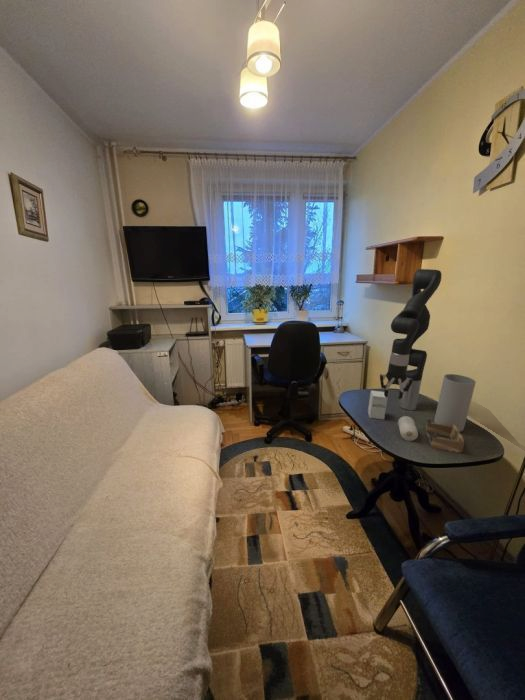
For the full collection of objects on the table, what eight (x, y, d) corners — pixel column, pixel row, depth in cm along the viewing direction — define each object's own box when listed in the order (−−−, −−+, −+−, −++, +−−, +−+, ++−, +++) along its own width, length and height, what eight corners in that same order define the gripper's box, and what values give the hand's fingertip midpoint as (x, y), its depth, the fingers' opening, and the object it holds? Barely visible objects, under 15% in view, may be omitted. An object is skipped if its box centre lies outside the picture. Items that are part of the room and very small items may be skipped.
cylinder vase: (450, 418, 148) (460, 373, 141) (470, 431, 136) (482, 383, 129) (428, 419, 146) (438, 374, 140) (446, 433, 135) (458, 384, 128)
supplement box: (369, 418, 147) (372, 395, 143) (367, 411, 154) (370, 389, 150) (384, 420, 145) (388, 397, 141) (382, 413, 152) (385, 391, 148)
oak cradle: (425, 430, 136) (427, 418, 134) (452, 435, 133) (455, 423, 131) (431, 447, 123) (434, 434, 121) (461, 453, 120) (465, 439, 118)
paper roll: (397, 428, 138) (399, 415, 136) (413, 430, 136) (415, 417, 134) (399, 439, 129) (401, 425, 127) (416, 442, 127) (419, 428, 125)
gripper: (415, 362, 127) (408, 397, 131) (380, 358, 131) (375, 392, 136) (418, 367, 120) (411, 404, 125) (381, 362, 124) (376, 398, 129)
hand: (392, 397), depth 130 cm, fingers open, 5 cm apart
